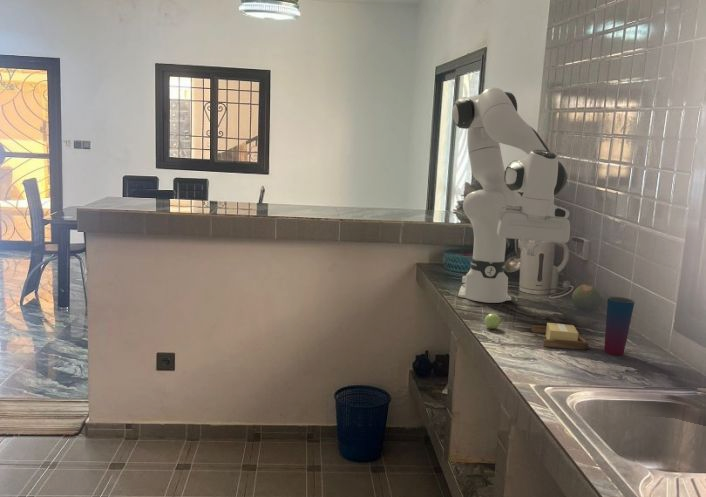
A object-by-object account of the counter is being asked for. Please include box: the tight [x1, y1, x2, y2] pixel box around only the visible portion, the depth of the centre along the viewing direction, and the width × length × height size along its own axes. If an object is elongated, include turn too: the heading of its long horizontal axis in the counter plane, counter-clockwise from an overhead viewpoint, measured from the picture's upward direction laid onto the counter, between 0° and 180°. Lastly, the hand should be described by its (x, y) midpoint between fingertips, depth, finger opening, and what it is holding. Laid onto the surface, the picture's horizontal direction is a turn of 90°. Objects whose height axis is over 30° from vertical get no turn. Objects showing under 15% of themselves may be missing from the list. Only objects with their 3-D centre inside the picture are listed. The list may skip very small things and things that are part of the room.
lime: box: [484, 313, 501, 330], centre depth 192 cm, size 5×5×5 cm
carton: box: [545, 322, 579, 341], centre depth 183 cm, size 8×8×4 cm
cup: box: [603, 296, 636, 356], centre depth 176 cm, size 7×7×15 cm
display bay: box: [530, 324, 590, 350], centre depth 185 cm, size 14×12×2 cm
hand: (529, 255), depth 186 cm, fingers closed
